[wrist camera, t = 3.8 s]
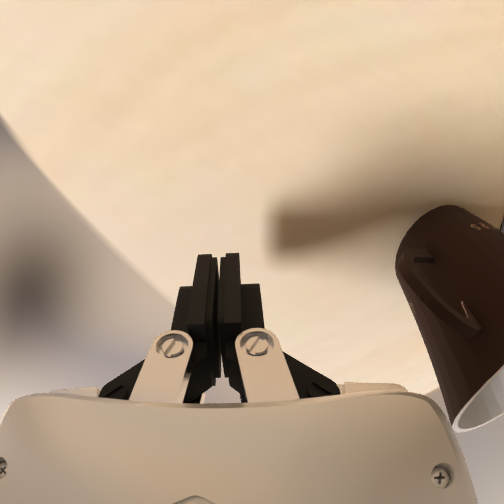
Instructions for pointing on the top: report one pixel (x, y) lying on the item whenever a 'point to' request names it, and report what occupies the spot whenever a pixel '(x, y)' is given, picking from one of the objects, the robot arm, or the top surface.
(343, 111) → the top surface
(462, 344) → the coffee mug
